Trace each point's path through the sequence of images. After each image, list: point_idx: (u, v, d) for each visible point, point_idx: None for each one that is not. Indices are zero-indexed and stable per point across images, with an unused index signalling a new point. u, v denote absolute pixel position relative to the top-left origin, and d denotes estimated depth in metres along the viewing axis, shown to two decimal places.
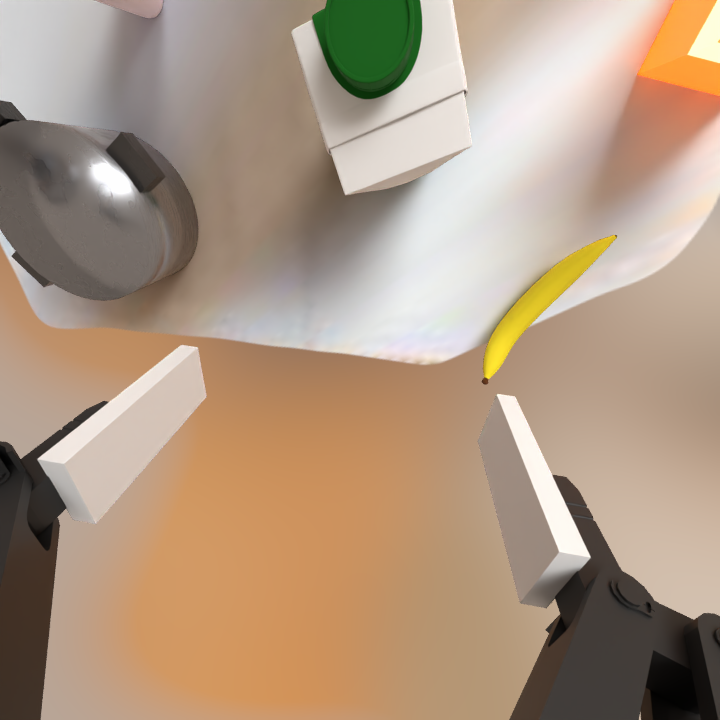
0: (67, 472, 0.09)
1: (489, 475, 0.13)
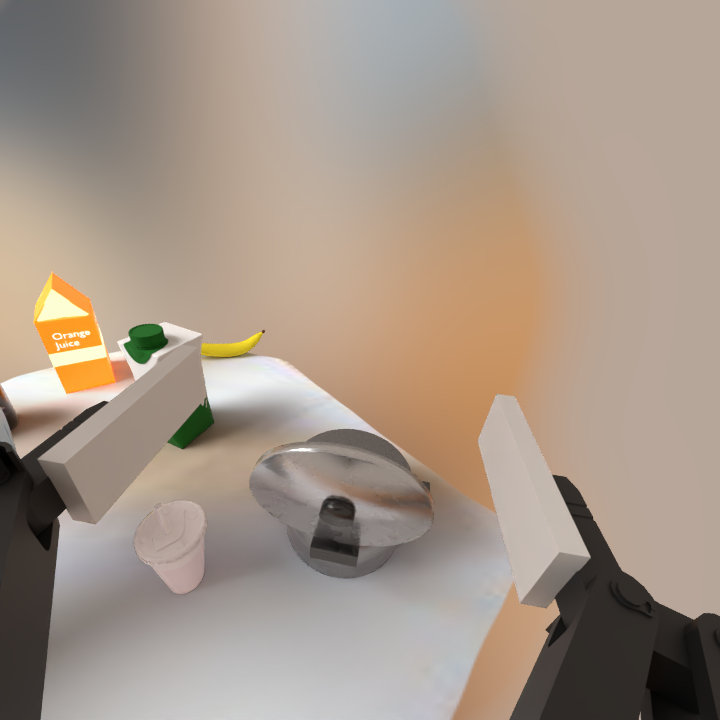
0: (67, 472, 0.09)
1: (489, 475, 0.13)
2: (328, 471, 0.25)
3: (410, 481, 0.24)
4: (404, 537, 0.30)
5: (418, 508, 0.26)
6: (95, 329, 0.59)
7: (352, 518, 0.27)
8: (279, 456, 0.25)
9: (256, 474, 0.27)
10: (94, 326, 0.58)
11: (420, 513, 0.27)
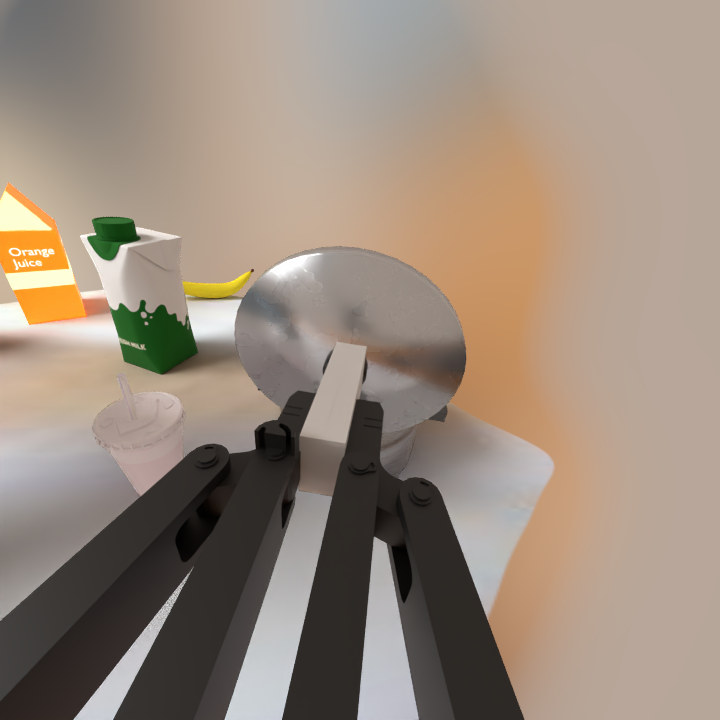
0: (319, 447, 0.11)
1: None
2: (335, 291, 0.19)
3: (441, 297, 0.19)
4: (425, 410, 0.25)
5: (448, 349, 0.21)
6: (60, 248, 0.52)
7: (364, 370, 0.22)
8: (272, 270, 0.19)
9: (242, 315, 0.21)
10: (59, 244, 0.51)
11: (449, 359, 0.21)
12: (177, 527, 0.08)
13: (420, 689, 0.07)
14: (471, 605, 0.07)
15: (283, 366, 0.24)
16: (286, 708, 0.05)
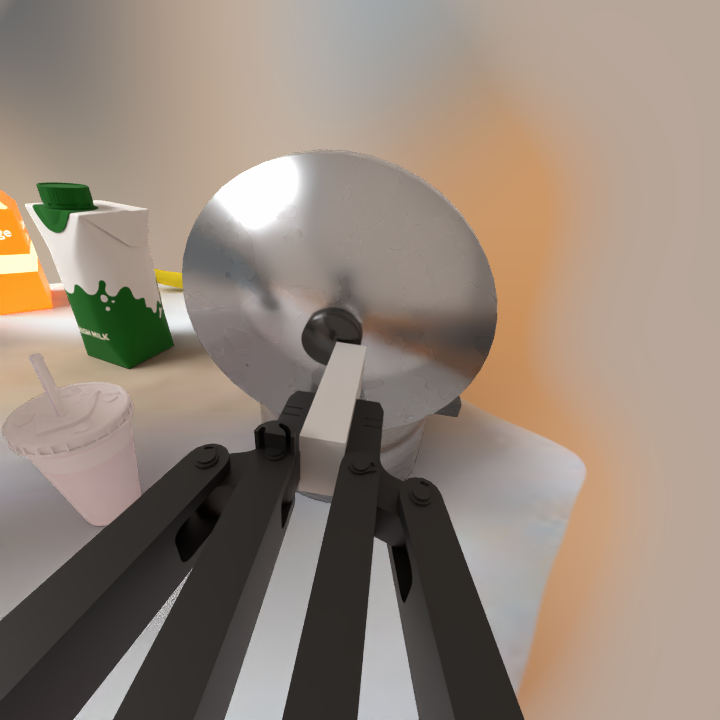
0: (319, 447, 0.11)
1: None
2: (315, 218, 0.14)
3: (465, 221, 0.13)
4: (438, 396, 0.19)
5: (473, 304, 0.15)
6: (18, 230, 0.46)
7: (358, 337, 0.16)
8: (224, 188, 0.13)
9: (191, 263, 0.16)
10: (16, 225, 0.46)
11: (473, 319, 0.16)
12: (177, 527, 0.08)
13: (420, 689, 0.07)
14: (471, 605, 0.07)
15: (251, 338, 0.18)
16: (286, 708, 0.05)
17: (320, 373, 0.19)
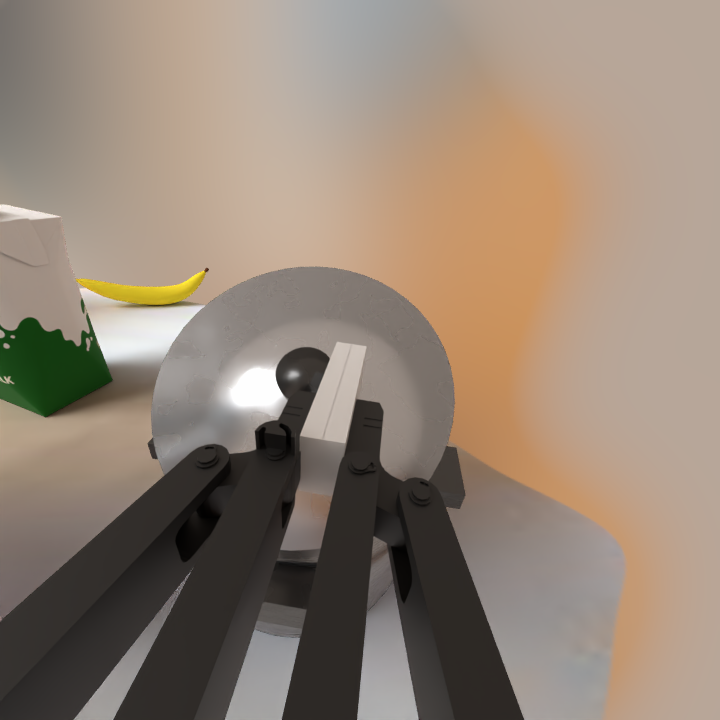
0: (320, 447, 0.11)
1: None
2: (310, 295, 0.20)
3: (409, 304, 0.20)
4: (418, 463, 0.16)
5: (428, 353, 0.19)
6: None
7: None
8: (254, 278, 0.21)
9: (199, 318, 0.19)
10: None
11: (431, 366, 0.18)
12: (178, 527, 0.08)
13: (420, 689, 0.07)
14: (471, 605, 0.07)
15: (216, 388, 0.17)
16: (286, 708, 0.05)
17: None
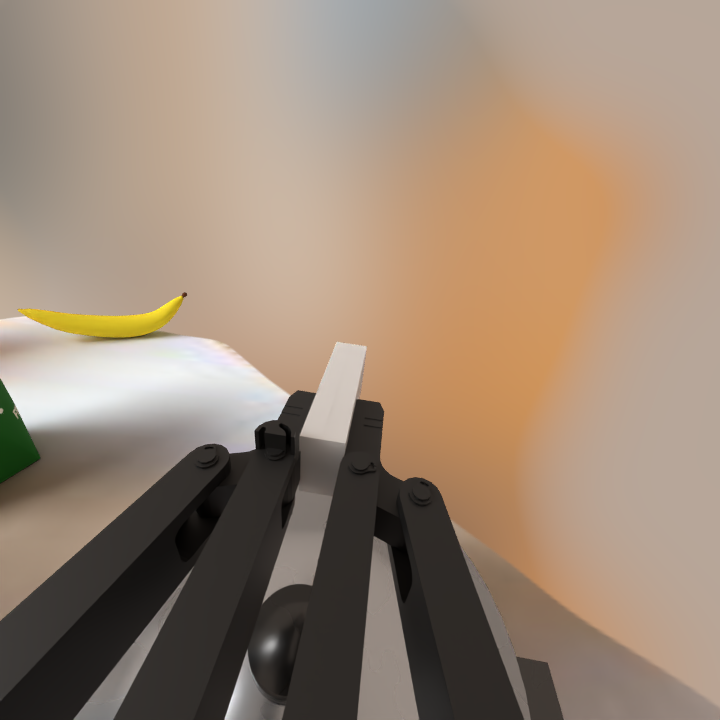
0: (319, 447, 0.11)
1: None
2: (307, 500, 0.16)
3: None
4: None
5: None
6: None
7: None
8: None
9: None
10: None
11: None
12: (177, 527, 0.08)
13: (420, 689, 0.07)
14: (471, 605, 0.07)
15: None
16: (286, 708, 0.05)
17: None
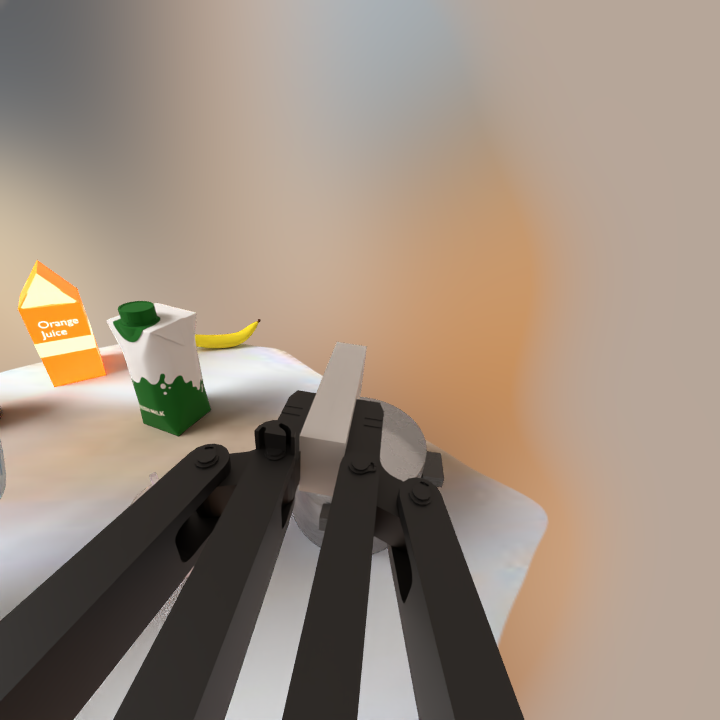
0: (319, 447, 0.11)
1: None
2: None
3: (401, 412, 0.44)
4: (412, 467, 0.35)
5: (412, 429, 0.41)
6: (84, 317, 0.56)
7: None
8: None
9: None
10: (82, 314, 0.56)
11: (415, 434, 0.40)
12: (177, 527, 0.08)
13: (420, 689, 0.07)
14: (471, 605, 0.07)
15: None
16: (286, 708, 0.05)
17: None
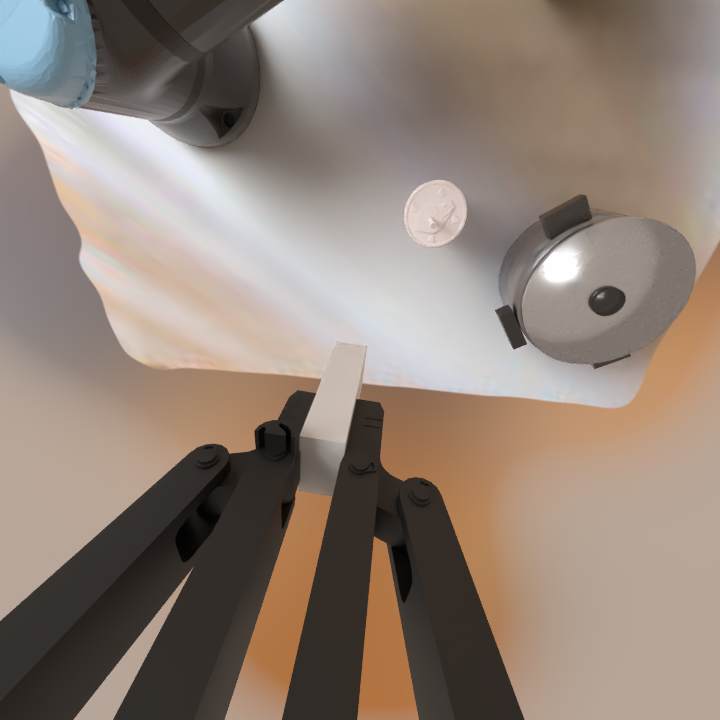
0: (319, 447, 0.11)
1: None
2: (664, 264, 0.32)
3: (679, 311, 0.35)
4: (584, 357, 0.38)
5: (645, 336, 0.36)
6: None
7: (618, 310, 0.34)
8: (666, 225, 0.31)
9: (618, 223, 0.31)
10: None
11: (637, 341, 0.37)
12: (177, 527, 0.08)
13: (420, 689, 0.07)
14: (471, 605, 0.07)
15: (579, 267, 0.33)
16: (286, 708, 0.05)
17: (571, 307, 0.35)
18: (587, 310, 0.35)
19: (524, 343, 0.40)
